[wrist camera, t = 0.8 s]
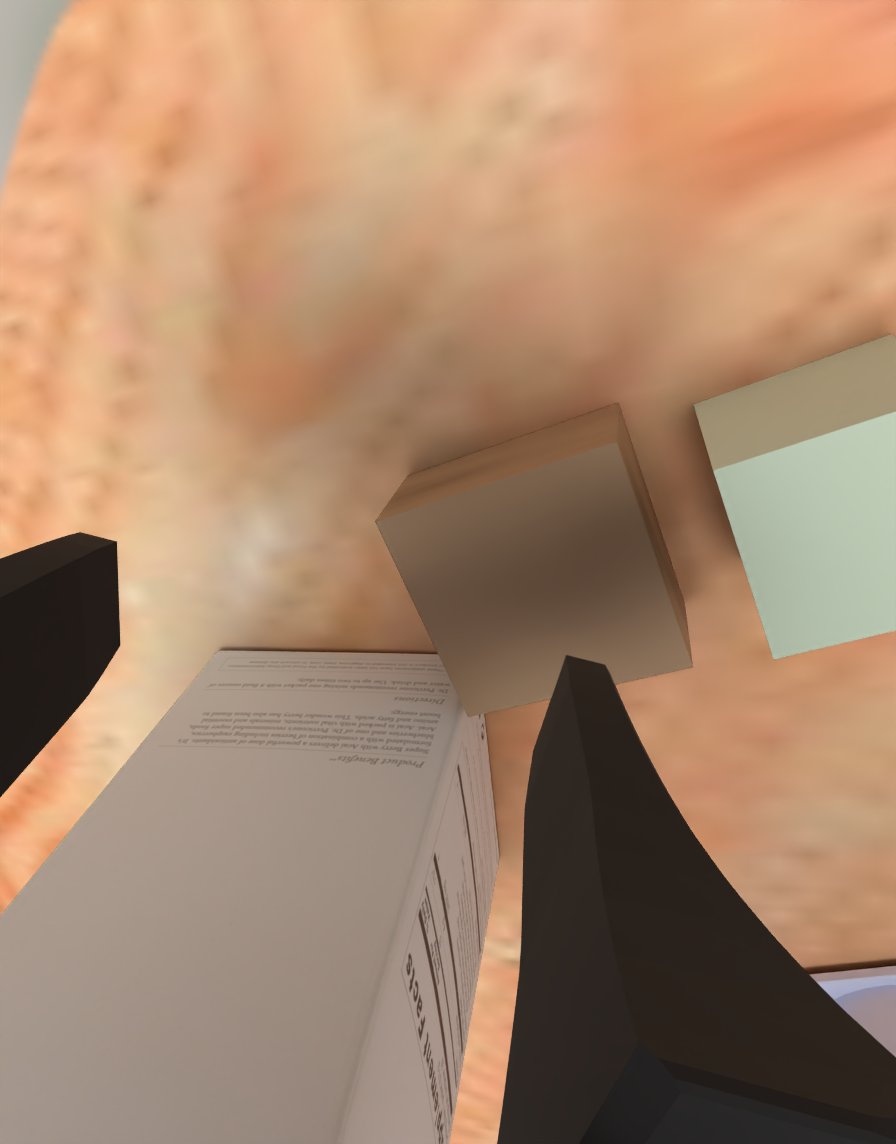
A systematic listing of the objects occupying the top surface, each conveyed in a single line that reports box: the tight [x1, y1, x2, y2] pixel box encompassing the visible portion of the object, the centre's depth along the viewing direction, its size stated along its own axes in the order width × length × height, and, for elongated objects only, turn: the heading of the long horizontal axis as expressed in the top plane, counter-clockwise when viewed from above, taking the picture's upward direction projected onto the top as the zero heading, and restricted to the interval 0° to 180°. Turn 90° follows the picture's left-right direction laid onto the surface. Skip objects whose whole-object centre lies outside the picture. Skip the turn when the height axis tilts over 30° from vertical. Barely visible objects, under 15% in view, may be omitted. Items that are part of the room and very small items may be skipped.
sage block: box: [693, 334, 896, 659], centre depth 17 cm, size 4×4×5 cm
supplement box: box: [0, 651, 499, 1144], centre depth 20 cm, size 9×9×15 cm
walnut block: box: [375, 403, 693, 717], centre depth 21 cm, size 6×6×4 cm
